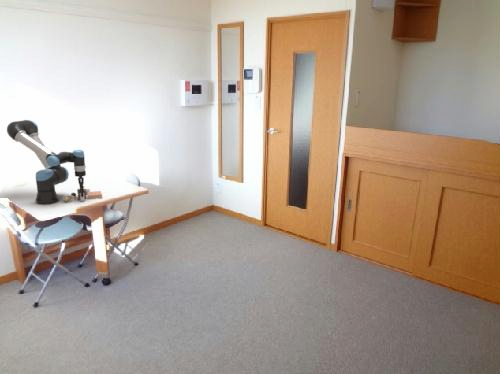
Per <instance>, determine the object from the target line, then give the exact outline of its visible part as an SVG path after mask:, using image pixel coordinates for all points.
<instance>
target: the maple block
mask: <svg viewBox="0 0 500 374" xmlns="http://www.w3.org/2000/svg"><path fill="white" fill-rule="evenodd" d="M63 200H64V202H65V203H66V204H67V203H73V202H75V197H74V196H73V195H71V194H70V195H65V196H63Z"/></svg>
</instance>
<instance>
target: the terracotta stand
mask: <svg viewBox="0 0 500 374" xmlns="http://www.w3.org/2000/svg"><path fill="white" fill-rule="evenodd" d="M87 194H88V195H87V200H94V199H95V200H97V199H96V198H98V199H103V194H102V191H101V190H97V191H90V192H87Z"/></svg>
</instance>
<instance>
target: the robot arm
mask: <svg viewBox="0 0 500 374" xmlns="http://www.w3.org/2000/svg"><path fill="white" fill-rule="evenodd" d="M6 132H7V134H8V136H9V138H11V139H12V140H13V141H15V142H17V143H20V144H22V145H23V146H25V147H26V148H28V149H29V150H31V151H32V152H33V153H34V154H35V155H36V157H37V158H38V161H40V163H41V164H42V165H43V167H44V168H45V169H40V170H38V171H36V172H35V183H36V191H37V193H36V197H35V203H36V204H38V205H51V204H55V203H58V202H59V201H60V199H59V196H58V194H57V191H56V187H55V186H56V185H59V184H63V183H64V182H66V181H67V180H69V175H70V173H69V171H68V169H67V168H66V167H65V166H61V165H63V164H67V163H73V169H74V176H75V177H77V182H78V184H79V189H80V192H79V193H80V198H81V200H80V202H84V201H85V199H84V189H85V186H84V185H85V184H84V182H85V179H84V177H85V176H86V172H87V171H86V167H87V166H86V162H85V160H86V159H85V152H84V150H83V149H74V150H73V151H72V152H69V151H60V152H58V153H55V152H53V150H51V149H50V148H48V147H46V146H45V144H44V143H43V141H42V139H41V138H40V137H39V135H40V133H39V127H38V124H37V123H36V122H35V121H33V120H31V119H30V120H29V119H23V120H18V121H12V122H10V123H9V124H8V125H7V126H6Z"/></svg>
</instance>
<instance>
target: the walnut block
mask: <svg viewBox="0 0 500 374" xmlns="http://www.w3.org/2000/svg"><path fill="white" fill-rule="evenodd" d="M83 189H84V199H87V200H88V195H86V189H87V188H83ZM76 191H77V200H78V201H81V198H80V193H79V192H80V188H77V190H76Z"/></svg>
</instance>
